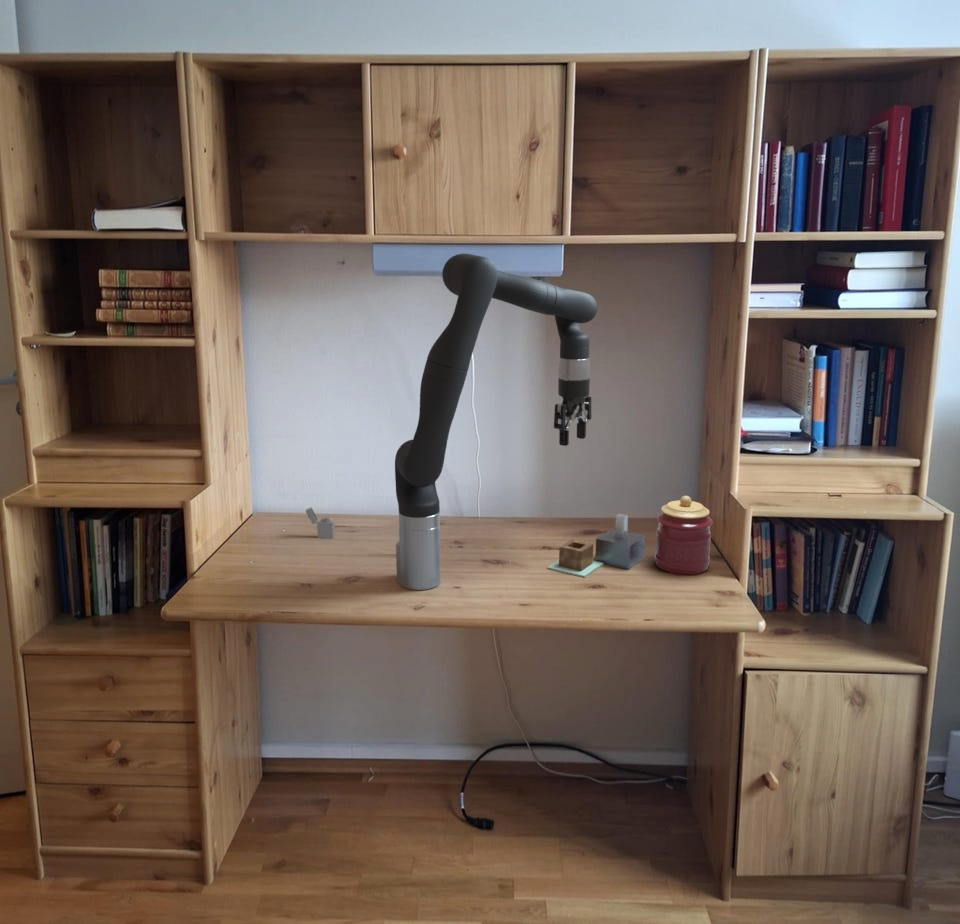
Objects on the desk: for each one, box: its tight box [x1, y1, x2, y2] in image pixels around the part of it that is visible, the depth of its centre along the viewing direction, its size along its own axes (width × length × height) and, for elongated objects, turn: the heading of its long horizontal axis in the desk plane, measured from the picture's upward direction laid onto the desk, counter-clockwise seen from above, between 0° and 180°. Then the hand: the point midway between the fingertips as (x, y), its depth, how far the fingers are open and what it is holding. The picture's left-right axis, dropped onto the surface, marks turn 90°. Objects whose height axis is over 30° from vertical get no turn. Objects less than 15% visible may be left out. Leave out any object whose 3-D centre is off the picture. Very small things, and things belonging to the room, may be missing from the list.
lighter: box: [305, 506, 335, 539], centre depth 231 cm, size 7×2×8 cm, turn 87°
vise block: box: [594, 513, 646, 570], centre depth 214 cm, size 9×9×12 cm
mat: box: [547, 559, 605, 578], centre depth 212 cm, size 10×10×1 cm
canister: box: [654, 495, 714, 576], centre depth 210 cm, size 13×13×18 cm
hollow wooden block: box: [558, 539, 594, 571], centre depth 211 cm, size 6×6×5 cm
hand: (572, 441), depth 215 cm, fingers open, 8 cm apart
